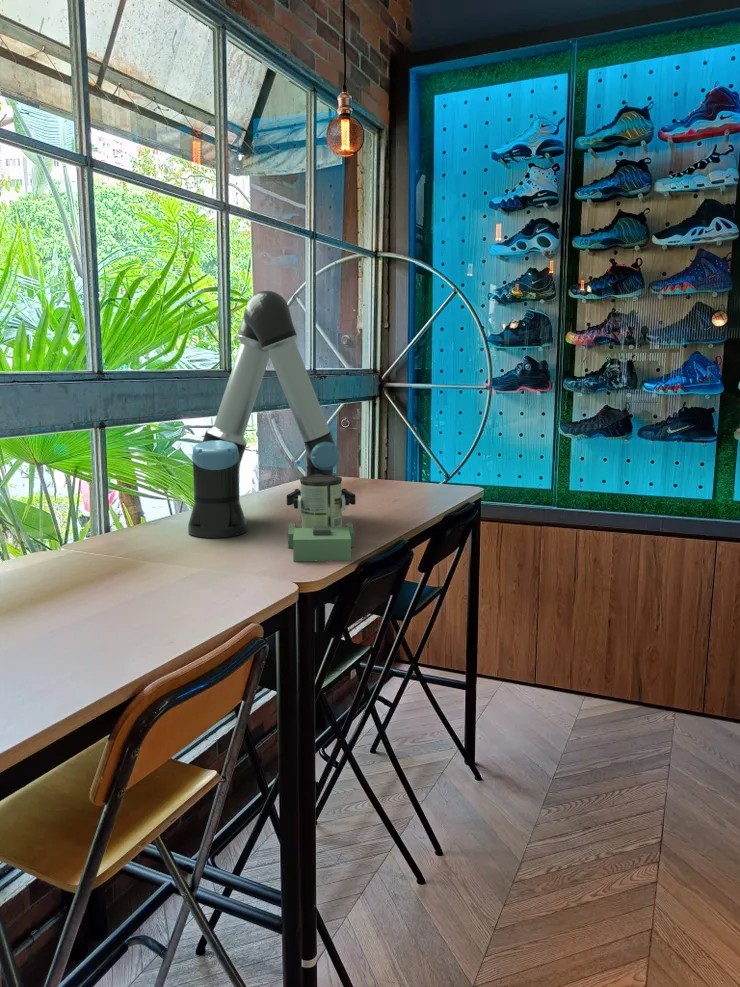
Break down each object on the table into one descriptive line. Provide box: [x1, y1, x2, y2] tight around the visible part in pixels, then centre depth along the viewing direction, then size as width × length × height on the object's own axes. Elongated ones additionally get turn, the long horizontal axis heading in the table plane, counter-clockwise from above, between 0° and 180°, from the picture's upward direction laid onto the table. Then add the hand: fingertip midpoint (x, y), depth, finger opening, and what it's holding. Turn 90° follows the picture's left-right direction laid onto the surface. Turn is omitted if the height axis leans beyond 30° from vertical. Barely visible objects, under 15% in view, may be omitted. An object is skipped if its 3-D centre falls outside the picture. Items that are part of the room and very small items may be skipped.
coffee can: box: [299, 475, 343, 528], centre depth 184 cm, size 10×10×14 cm
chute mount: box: [287, 522, 356, 562], centre depth 178 cm, size 16×24×6 cm, turn 5°
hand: (321, 505), depth 179 cm, fingers closed on coffee can, 10 cm apart
